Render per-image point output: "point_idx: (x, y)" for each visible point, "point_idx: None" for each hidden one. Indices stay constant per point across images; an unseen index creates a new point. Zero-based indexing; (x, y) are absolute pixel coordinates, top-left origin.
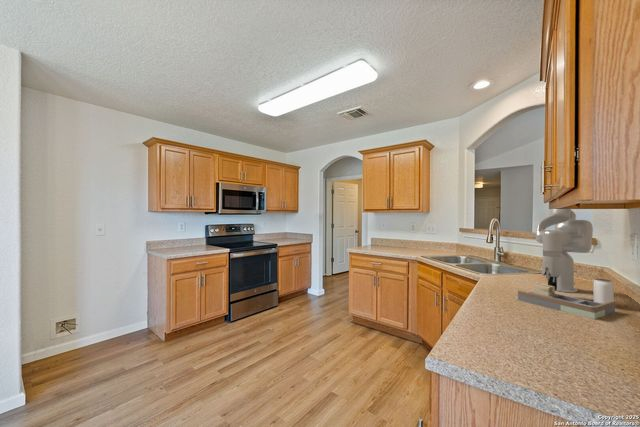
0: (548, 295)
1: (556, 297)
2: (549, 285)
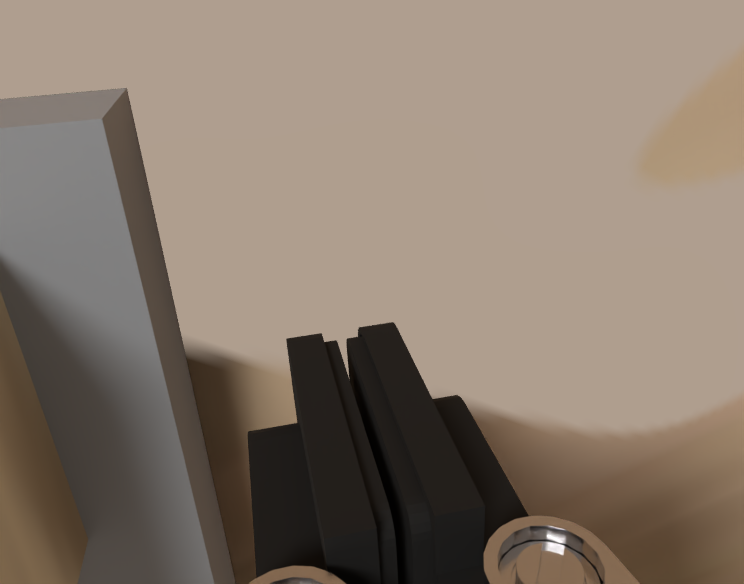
0: None
1: None
2: (255, 487)
